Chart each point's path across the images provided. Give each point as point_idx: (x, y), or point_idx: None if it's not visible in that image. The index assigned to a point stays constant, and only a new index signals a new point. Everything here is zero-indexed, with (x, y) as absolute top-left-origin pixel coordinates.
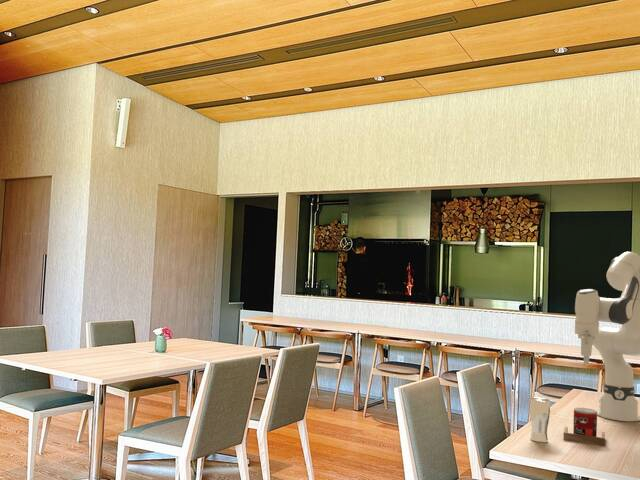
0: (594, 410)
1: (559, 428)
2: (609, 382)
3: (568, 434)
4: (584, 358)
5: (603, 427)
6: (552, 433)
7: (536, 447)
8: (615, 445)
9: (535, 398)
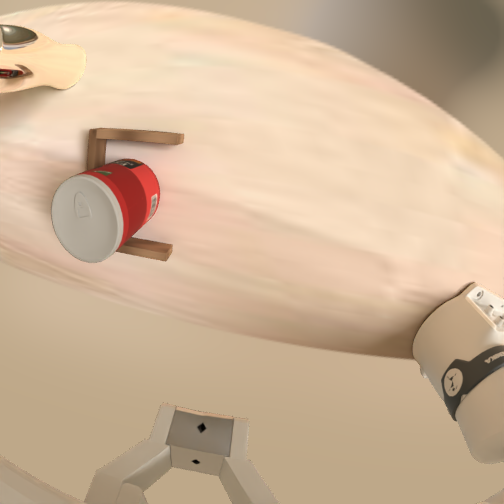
0: (99, 257)
1: (251, 122)
2: (493, 382)
3: (89, 143)
4: (120, 460)
5: (332, 279)
6: (161, 93)
7: None
8: (116, 265)
9: (2, 33)
